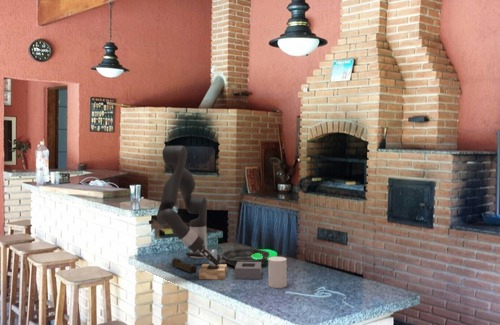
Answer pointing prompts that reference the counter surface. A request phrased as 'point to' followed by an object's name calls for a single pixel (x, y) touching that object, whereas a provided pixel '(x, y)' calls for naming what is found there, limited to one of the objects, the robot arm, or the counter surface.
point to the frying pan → (236, 256)
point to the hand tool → (183, 265)
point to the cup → (277, 272)
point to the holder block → (248, 270)
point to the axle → (214, 253)
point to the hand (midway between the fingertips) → (216, 263)
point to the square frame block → (213, 272)
